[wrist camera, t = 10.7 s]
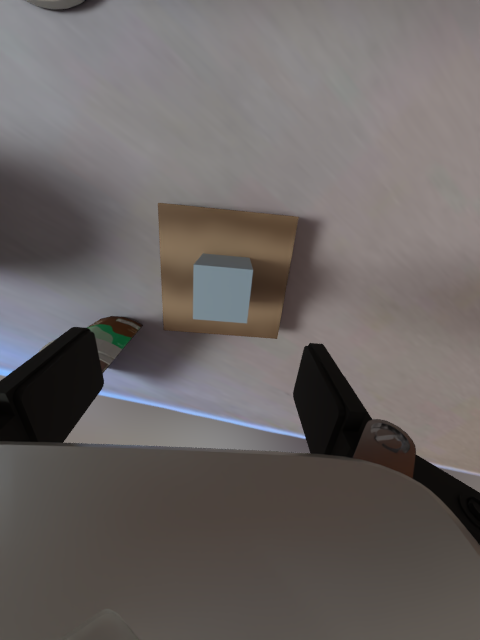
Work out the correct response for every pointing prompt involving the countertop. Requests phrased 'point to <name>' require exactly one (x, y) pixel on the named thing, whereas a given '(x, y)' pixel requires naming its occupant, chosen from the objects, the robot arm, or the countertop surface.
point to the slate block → (222, 288)
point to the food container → (111, 337)
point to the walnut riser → (231, 240)
